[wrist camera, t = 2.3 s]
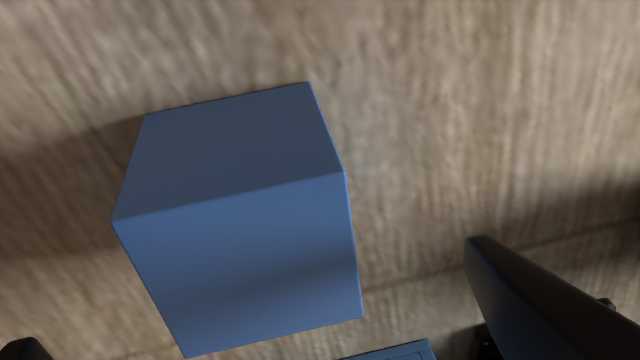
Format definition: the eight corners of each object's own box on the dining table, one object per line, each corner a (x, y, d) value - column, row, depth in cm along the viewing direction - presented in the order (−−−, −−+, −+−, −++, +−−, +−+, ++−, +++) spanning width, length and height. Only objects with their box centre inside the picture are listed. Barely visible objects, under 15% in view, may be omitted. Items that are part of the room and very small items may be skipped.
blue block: (309, 80, 12) (345, 171, 8) (330, 206, 15) (365, 317, 11) (143, 113, 12) (108, 223, 8) (194, 236, 14) (185, 360, 11)
